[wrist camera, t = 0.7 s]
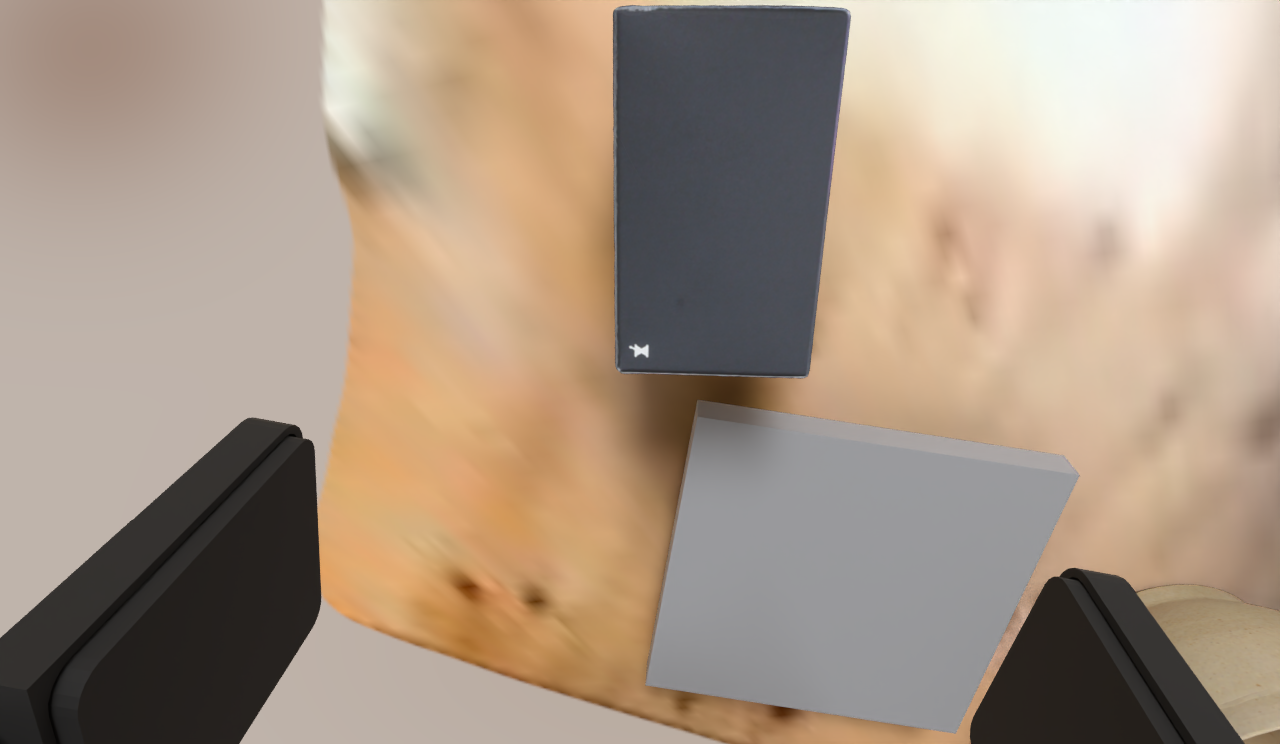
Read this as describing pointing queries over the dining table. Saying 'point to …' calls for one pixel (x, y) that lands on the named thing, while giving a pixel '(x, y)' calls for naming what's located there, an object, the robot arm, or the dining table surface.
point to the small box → (722, 184)
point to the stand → (847, 564)
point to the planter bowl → (1226, 652)
